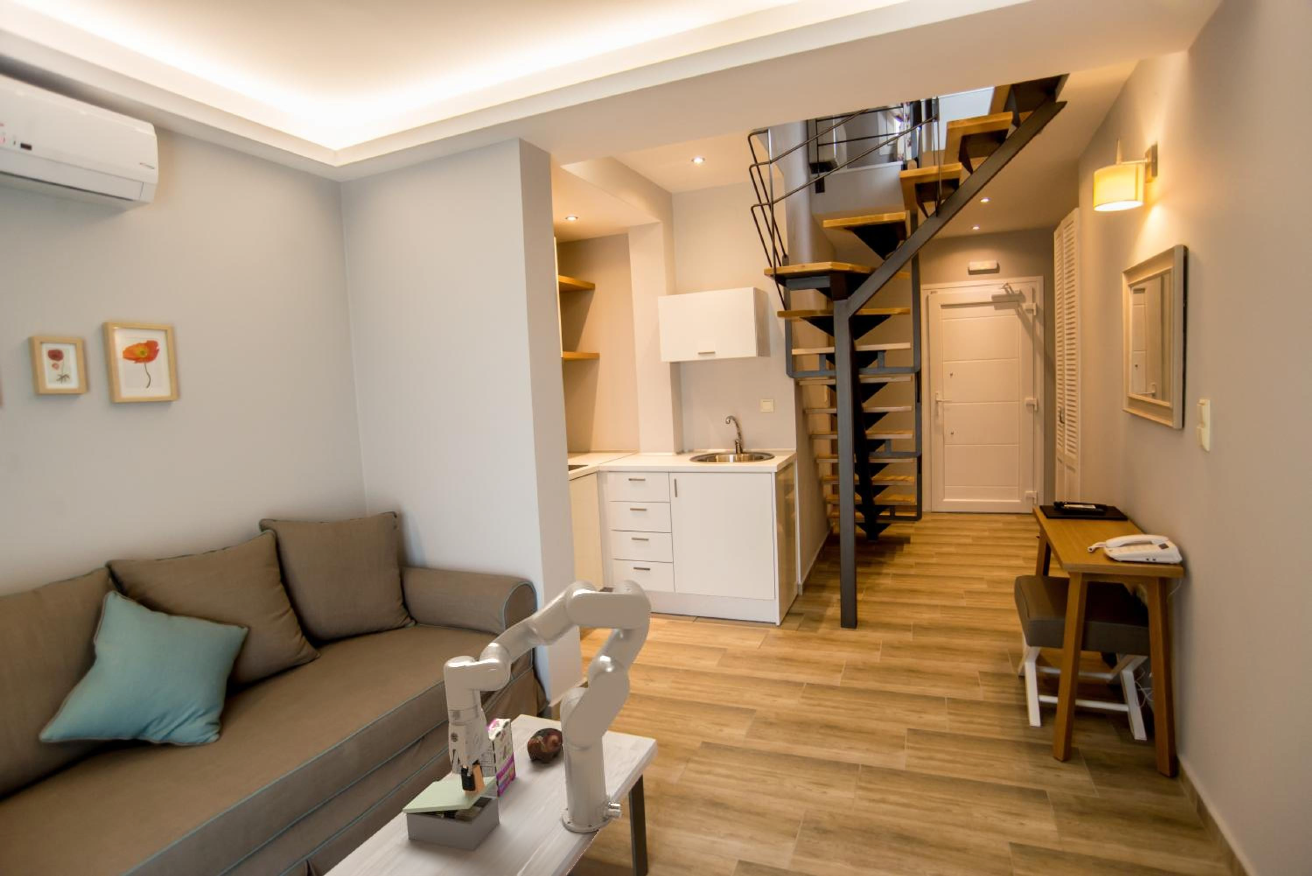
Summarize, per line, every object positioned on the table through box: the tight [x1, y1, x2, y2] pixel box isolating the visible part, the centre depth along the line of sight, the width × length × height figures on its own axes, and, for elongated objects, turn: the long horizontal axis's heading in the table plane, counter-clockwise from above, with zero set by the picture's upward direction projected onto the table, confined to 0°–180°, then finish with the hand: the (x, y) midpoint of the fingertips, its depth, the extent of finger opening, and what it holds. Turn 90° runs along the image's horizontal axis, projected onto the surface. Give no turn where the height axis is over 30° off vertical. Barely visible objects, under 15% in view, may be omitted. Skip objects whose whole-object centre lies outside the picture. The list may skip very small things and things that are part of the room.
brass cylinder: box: [428, 811, 444, 818], centre depth 165 cm, size 4×4×4 cm
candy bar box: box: [481, 717, 517, 798], centre depth 183 cm, size 11×5×16 cm, turn 168°
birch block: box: [455, 806, 482, 822], centre depth 166 cm, size 5×4×4 cm
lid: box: [402, 765, 497, 814], centre depth 165 cm, size 19×12×6 cm, turn 70°
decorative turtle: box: [526, 727, 563, 764], centre depth 198 cm, size 10×15×8 cm, turn 157°
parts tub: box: [405, 795, 500, 852], centre depth 165 cm, size 18×11×7 cm, turn 70°
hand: (473, 785), depth 162 cm, fingers closed on lid, 2 cm apart
